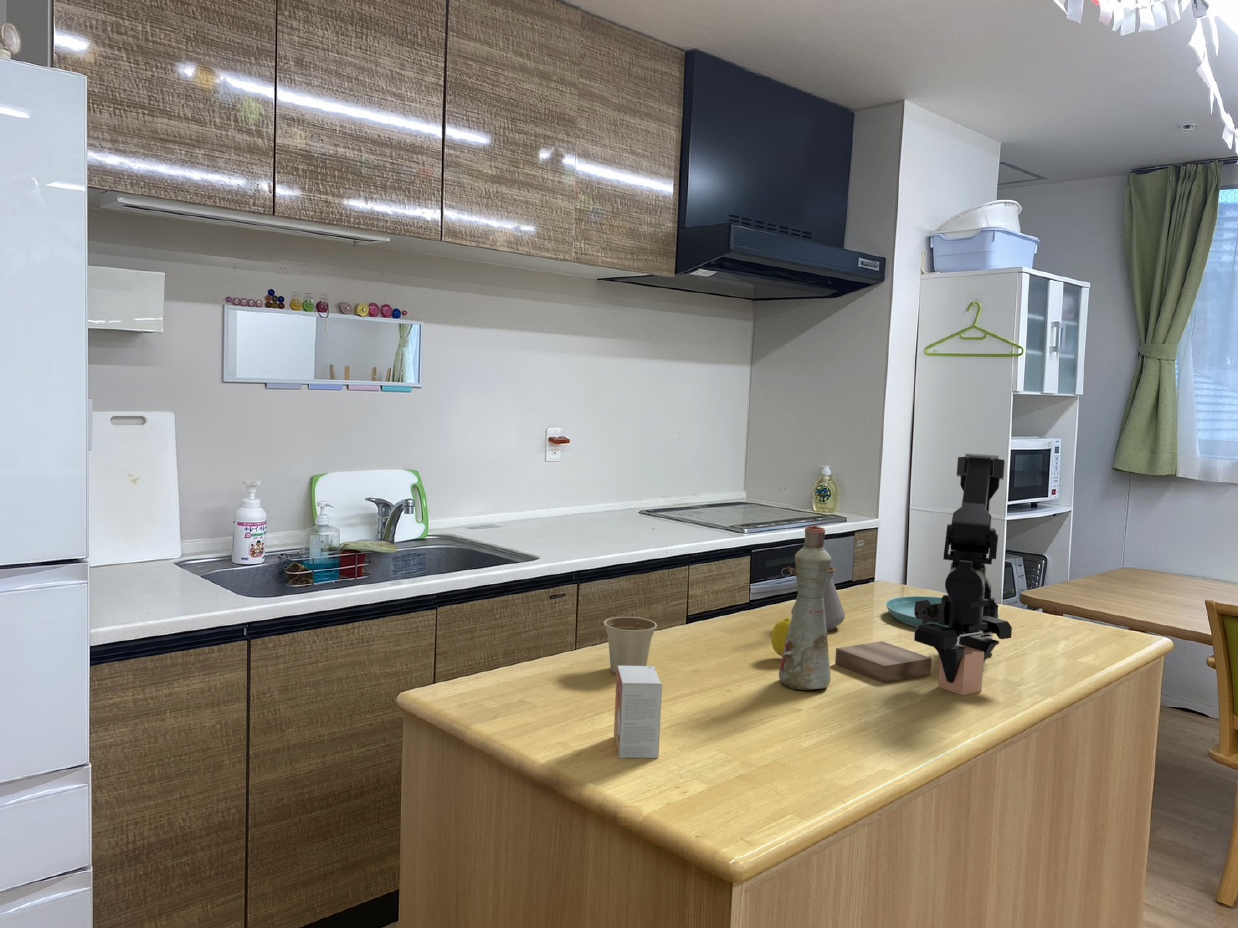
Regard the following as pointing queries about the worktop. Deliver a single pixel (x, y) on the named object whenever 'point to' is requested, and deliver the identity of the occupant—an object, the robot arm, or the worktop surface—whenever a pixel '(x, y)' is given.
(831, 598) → the coffee pot
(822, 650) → the bottle
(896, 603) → the saucer
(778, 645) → the lemon
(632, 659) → the flower pot
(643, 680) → the small box
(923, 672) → the walnut base
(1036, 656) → the worktop surface
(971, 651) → the terracotta block
